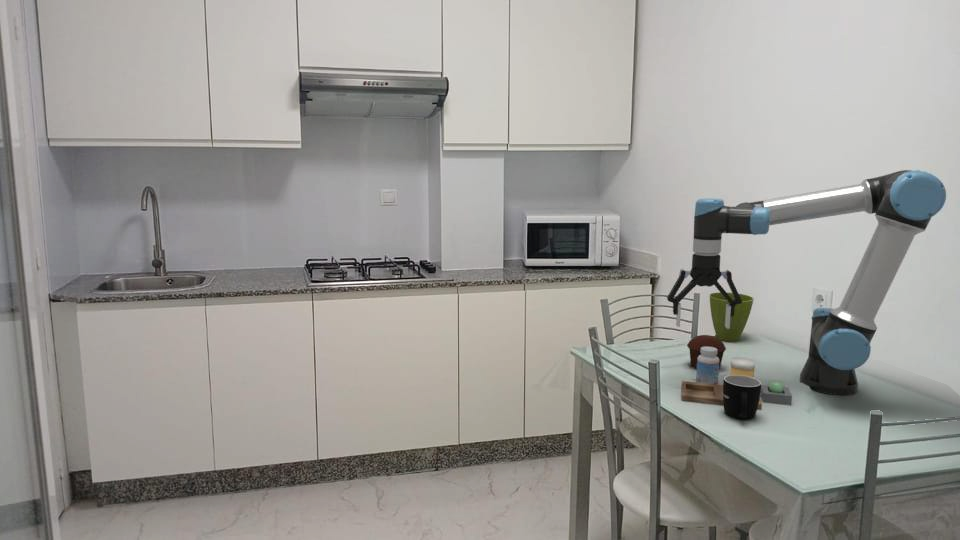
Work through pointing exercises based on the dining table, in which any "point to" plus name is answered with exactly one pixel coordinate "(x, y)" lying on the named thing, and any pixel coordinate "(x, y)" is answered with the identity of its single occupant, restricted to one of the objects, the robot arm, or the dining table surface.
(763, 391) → the button housing
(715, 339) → the muffin
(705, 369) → the pill bottle
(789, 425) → the dining table surface
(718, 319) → the flower pot
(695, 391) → the pallet board
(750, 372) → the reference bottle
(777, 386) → the button plunger
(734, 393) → the mug
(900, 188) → the robot arm
